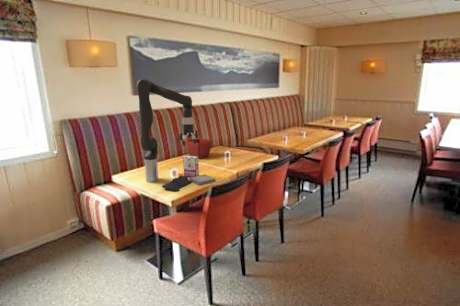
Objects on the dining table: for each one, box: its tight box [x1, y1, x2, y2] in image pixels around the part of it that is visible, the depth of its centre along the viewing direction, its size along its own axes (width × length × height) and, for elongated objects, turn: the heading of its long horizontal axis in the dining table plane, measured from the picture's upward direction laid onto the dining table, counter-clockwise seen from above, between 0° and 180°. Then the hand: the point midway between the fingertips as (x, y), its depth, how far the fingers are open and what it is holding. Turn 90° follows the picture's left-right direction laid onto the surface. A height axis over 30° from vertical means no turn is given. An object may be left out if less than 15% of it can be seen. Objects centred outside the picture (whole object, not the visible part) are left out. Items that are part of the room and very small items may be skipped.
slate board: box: [188, 174, 216, 186], centre depth 221 cm, size 14×14×2 cm
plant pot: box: [184, 138, 213, 160], centre depth 291 cm, size 19×19×17 cm
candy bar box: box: [182, 155, 200, 178], centre depth 229 cm, size 11×5×16 cm, turn 66°
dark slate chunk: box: [161, 174, 193, 192], centre depth 213 cm, size 15×22×5 cm
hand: (189, 144), depth 222 cm, fingers open, 8 cm apart
